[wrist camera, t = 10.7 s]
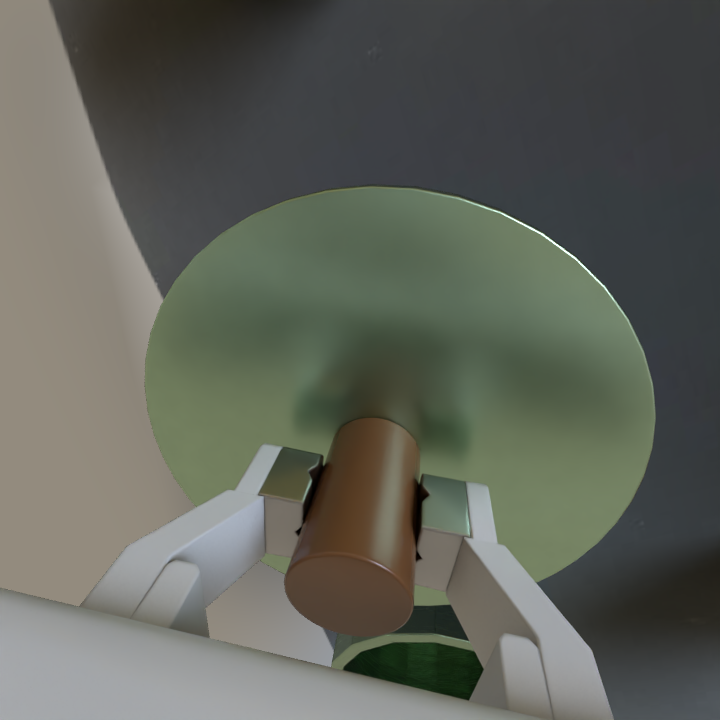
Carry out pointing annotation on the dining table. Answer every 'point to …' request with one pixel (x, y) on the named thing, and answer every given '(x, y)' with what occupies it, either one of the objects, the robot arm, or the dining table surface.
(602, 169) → the dining table surface
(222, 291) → the tin lid
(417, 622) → the bowl
